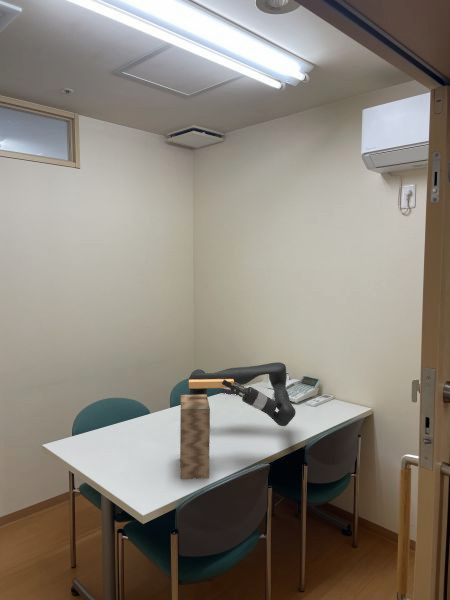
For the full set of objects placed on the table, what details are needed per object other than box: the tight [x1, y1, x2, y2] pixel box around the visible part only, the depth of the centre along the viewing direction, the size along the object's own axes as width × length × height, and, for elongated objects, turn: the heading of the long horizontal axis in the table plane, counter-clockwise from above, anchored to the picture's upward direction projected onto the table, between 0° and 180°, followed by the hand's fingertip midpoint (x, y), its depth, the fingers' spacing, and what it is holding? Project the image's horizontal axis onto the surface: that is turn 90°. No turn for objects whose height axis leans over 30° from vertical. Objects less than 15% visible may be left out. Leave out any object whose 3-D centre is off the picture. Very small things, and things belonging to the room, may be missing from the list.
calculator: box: [221, 386, 248, 396], centre depth 311 cm, size 11×4×15 cm
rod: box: [188, 379, 234, 389], centre depth 200 cm, size 20×4×3 cm, turn 96°
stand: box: [179, 393, 211, 480], centre depth 196 cm, size 12×20×30 cm, turn 6°
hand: (222, 380), depth 200 cm, fingers closed on rod, 3 cm apart
